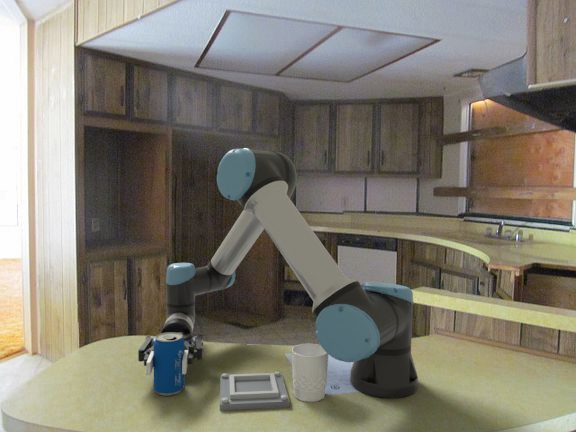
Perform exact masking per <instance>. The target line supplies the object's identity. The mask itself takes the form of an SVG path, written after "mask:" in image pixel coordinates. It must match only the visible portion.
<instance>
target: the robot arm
mask: <svg viewBox="0 0 576 432" xmlns="http://www.w3.org/2000/svg"><path fill="white" fill-rule="evenodd" d="M297 175H298V174H297V170H296V166H295V164H294V163H293V161H292V160H291V158H289V157H288V156H287V155H286V154H284V153H281V152H279V151H270V150H269V151H268V150H262V149H251V148H248V147H247V148H246V147H244V148H234V149H230V150H229V151H228V152H226V153H225V155H224V156H223V157H222V159H221V160H220V162H219V165H218V166H217V175H216V183H217V184H216V185H217V188H218V191H219V192H220V194H221V195H222V196H223V198H226V199H227V200H230V201H237V202H238V203H239V205H240V206H241V208H242V209H243V210H242V212H241V213H240V215H239V216H238V218H237V219H236V220H235V222H234V224H233V225H232V226H231V229H230V230H229V231H228V233H227V234H226V236H225V238H224V239H223V240H222V242H221V243H220V246H219V247H218V248H217V250H216V251H215V253H214V255H213V256H212V258H211V260H210V261H209V262H208V264H207V265H206V266H201V267H200V266H199V267H195V264H193V263H190V262H176V263H175V262H174V263H171V264H168V266H167V268H166V279H165V282H166V283H165V284H166V317H165V318H166V319H165V321H164V325H163V327H162V328H161V332H160V334H162V333H167V332H175V333H180V334H182V338H183V339H184V356H183V360H182V374H184V375H186V374H187V370H188V365H189V366H190V365H193V364H194V360H195V359H196V360H197V361H198V360H199V361H200V360H203V346H204V335H203V334H199V335H198V334H197V335H196V336H193V330H194V326H195V323H196V318H197V317H196V310H195V308H196V306H195V305H196V302H195V301H196V296H199V295H204V294H207V293H212V292H217V291H223V290H225V289H227V288H230V287H231V286H232V285H234V283H235V281H236V280H235V279H236V269H237V268H238V267H239V265H240V264H241V263H242V261H243V260H244V259H245V257H246V255H247V254H248V253H249V251H250V250H251V248H252V247H253V245H254V244H255V243H256V241H257V239H259V237H260V235H261V234H262V232H263V231H264V230H265V232H266V233H267V234H268V236H269V237H270V239H271V240H272V243H274V245H275V246H276V248H277V250H278V251H279V252H280V254H281V255H282V257H283V259H284V260H285V261H286V263H287V264H288V265H289V267H290V269H291V271H293V273H294V275H295V277H296V278H297V279H298V281H299V282H300V284H301V285H302V286H303V288H304V290H305V291H306V293H307V294H308V295H309V297H310V298H311V300H312V301H313V303H312V308H311V312H312V315H314V318H315V319H316V320H315V325H314V326H315V329H316V330H315V336H316V338H317V341H318V343H319V345H321V347H322V348H323V349H324V350H325V351H326V352H327V353H328V356H330V357H332V359H335V360H337V361H339V362H345V363H352V367H351V368H350V378H349V379H350V380H349V381H350V384H351V385H352V386H353V387H354V388H355V389H356V390H357V391H359V392H362V393H363V394H366V395H370V396H372V397H378V398H387V399H388V398H391V399H397V398H399V399H400V398H405V397H409V396H411V395H413V394H414V393H416V392H417V391H418V388H419V377H418V373H417V370H416V365H415V363H414V359H413V355H412V338H413V336H412V335H413V315H414V314H413V313H414V305H415V302H414V293H413V290H412V289H411V288H410V287H408V286H406V285H402V284H396V283H388V282H379V281H363V282H362V283H361V282H360V281H358V280H357V279H353V278H348V277H347V276H346V275H345V274H344V272H343V271H342V269H341V268H340V267H339V265H338V264H337V262H336V260H335V259H334V258H333V257H332V256H331V254H330V253H329V251H328V250H327V249H326V247H325V246H324V245H323V242H321V240H320V239H319V237H318V236H317V234H316V233H315V232H314V230H313V229H312V227H311V226H310V225H309V223H308V222H307V221H306V219H305V218H304V217H303V215H302V213H300V211H299V209H298V208H297V206H296V205H295V204H294V202H293V201H292V200H291V197H292V196H293V194H294V192H295V189H296V187H297V180H298V176H297ZM144 340H145V341H144V342H143V343H142V345H141V346H140V347H139V348H138V353H137V355H138V356H137V357H138V362H140V363H141V362H143V366H144V367H146V368H145V369H146V372H145V373H146V376H151V374H152V372H153V370H154V341H155V340H156V337H155V338H154V337H151V335H147V336H145V339H144ZM192 344H193V345H192Z"/></svg>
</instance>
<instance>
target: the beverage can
mask: <svg viewBox="0 0 576 432" xmlns="http://www.w3.org/2000/svg"><path fill="white" fill-rule="evenodd" d="M155 338H156V340H155V341H154V367H153V390H154V391H155V392H156V393H158V395H161V396H168V397H169V396H174V395H177V394H178V393H180V392H181V391H182V390H183V389H184V388H185V374H182V360H183V356H184V339H183V338H182V334H180V333H175V332H167V333H162V334H161V333H158V334H157V335H155Z"/></svg>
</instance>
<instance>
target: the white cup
mask: <svg viewBox="0 0 576 432" xmlns="http://www.w3.org/2000/svg"><path fill="white" fill-rule="evenodd" d="M328 366H329V354H328V353H327V352H326V351H325V350H324V349H323V348H322V347H321V345H320V343H319V344H318V343H312V342H311V343H300V344H296V345H294V346H293V347H292V348H291V367H292V369H291V372H292V383H293V384H292V386H293V388H292V389H293V391H292V393H293V396H294V397H295V398H296V399H297V400H299V401H303V402H307V403H315V402H318V401H322V399H324V398H325V396H326V395H325V394H326V385H327V379H328Z"/></svg>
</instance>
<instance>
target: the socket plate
mask: <svg viewBox="0 0 576 432" xmlns="http://www.w3.org/2000/svg"><path fill="white" fill-rule="evenodd" d="M219 382H220V383H219V385H220V386H219V387H220V388H219V411H236V410H255V409H257V410H258V409H259V410H260V409H277V408H279V409H280V408H290V398H289V395H288V391H287V389H286V385H285V381H284V378H283V375H282V373H281V371H274V372H267V373H266V372H264V373H263V372H262V373H261V372H260V373H235V374H229V373H222V374H221V375H220V380H219Z"/></svg>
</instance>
